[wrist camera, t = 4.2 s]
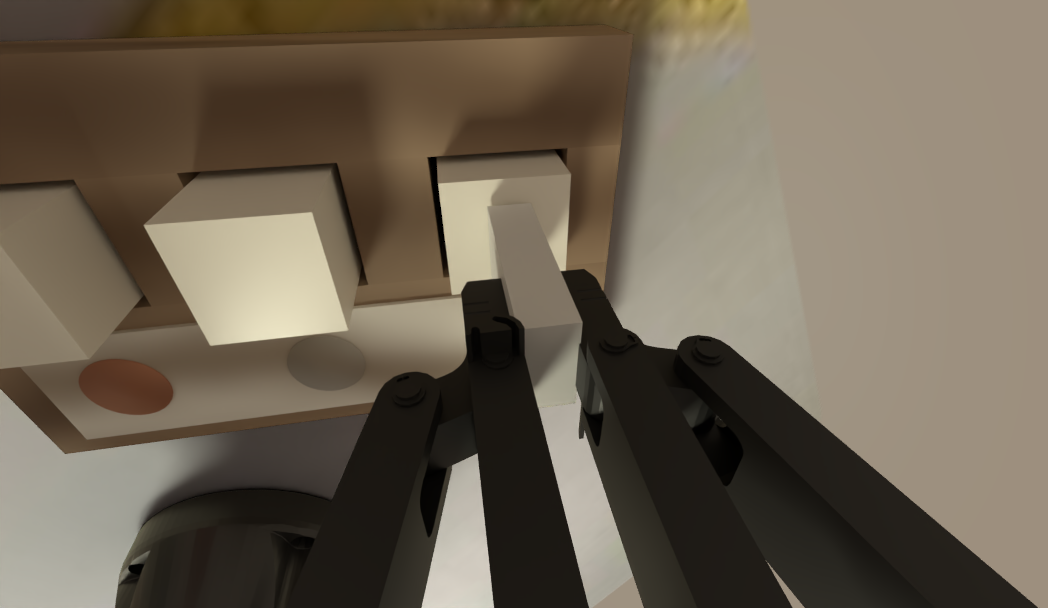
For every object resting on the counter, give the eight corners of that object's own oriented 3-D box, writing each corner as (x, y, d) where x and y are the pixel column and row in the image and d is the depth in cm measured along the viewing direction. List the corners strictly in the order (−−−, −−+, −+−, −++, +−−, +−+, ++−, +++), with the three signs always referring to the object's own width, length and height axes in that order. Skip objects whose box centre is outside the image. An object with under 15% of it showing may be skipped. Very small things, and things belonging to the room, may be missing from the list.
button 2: (153, 283, 18) (89, 358, 15) (28, 294, 18) (-70, 376, 14) (90, 175, 16) (-7, 236, 12) (-60, 185, 15) (-206, 252, 11)
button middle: (362, 264, 19) (348, 330, 16) (250, 274, 19) (210, 345, 15) (335, 160, 17) (312, 212, 13) (204, 168, 16) (143, 224, 13)
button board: (577, 345, 27) (594, 387, 24) (101, 404, 23) (60, 459, 21) (604, 24, 17) (636, 35, 14) (-195, 47, 14) (-338, 66, 11)
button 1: (542, 231, 21) (564, 283, 18) (447, 239, 21) (451, 295, 17) (543, 135, 19) (570, 174, 15) (435, 141, 18) (438, 183, 15)
